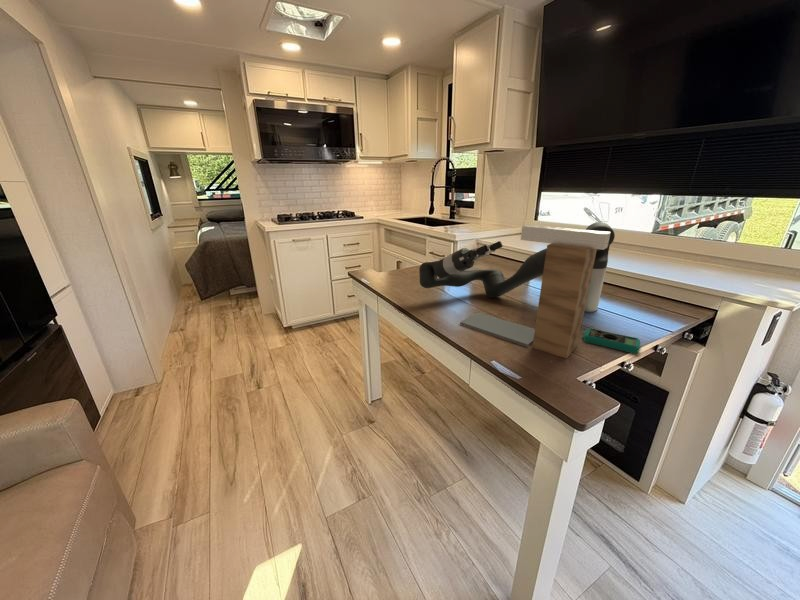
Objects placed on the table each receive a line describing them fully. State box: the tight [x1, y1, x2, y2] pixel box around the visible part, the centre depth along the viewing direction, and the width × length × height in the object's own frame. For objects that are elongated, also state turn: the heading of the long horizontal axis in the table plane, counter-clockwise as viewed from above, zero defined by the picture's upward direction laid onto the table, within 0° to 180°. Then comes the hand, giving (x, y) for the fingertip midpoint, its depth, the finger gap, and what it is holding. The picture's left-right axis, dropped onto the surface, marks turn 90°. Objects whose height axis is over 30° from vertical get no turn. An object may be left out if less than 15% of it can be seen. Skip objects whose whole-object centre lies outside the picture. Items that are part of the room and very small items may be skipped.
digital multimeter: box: [583, 327, 641, 355], centre depth 102 cm, size 7×15×3 cm, turn 53°
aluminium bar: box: [520, 224, 611, 250], centre depth 91 cm, size 4×22×4 cm, turn 46°
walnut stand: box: [531, 243, 597, 359], centre depth 95 cm, size 10×10×32 cm
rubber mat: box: [459, 312, 535, 348], centre depth 113 cm, size 12×25×1 cm, turn 46°
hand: (494, 245), depth 107 cm, fingers open, 8 cm apart
